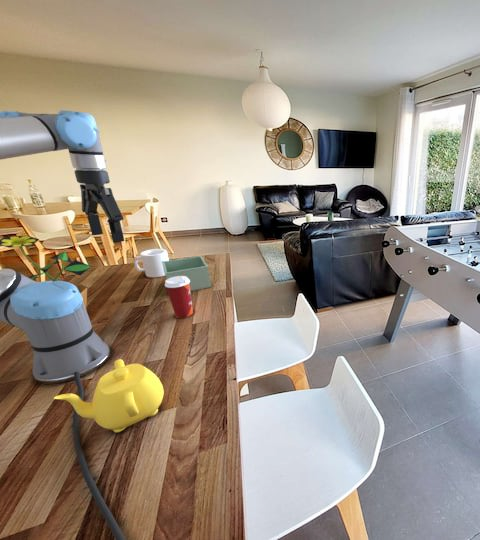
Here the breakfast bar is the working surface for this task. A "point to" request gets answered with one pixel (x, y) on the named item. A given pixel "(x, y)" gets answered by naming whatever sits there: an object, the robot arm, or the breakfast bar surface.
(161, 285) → the breakfast bar surface
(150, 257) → the mug
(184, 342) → the breakfast bar surface
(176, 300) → the paper cup
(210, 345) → the breakfast bar surface
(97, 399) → the teapot
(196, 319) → the breakfast bar surface
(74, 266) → the potted plant
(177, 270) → the open storage box
